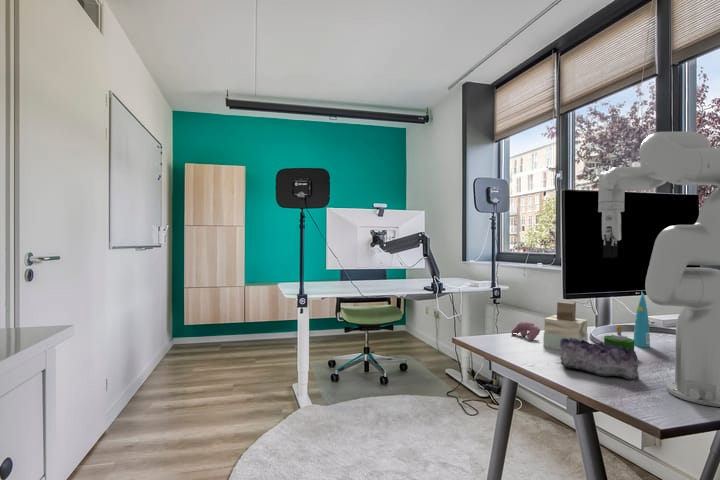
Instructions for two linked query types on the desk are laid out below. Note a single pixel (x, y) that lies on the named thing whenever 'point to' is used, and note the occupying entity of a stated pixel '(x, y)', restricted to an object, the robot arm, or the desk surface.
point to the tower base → (558, 340)
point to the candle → (619, 339)
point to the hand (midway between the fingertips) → (610, 257)
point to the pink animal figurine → (523, 329)
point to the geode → (599, 358)
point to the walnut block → (566, 310)
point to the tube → (642, 325)
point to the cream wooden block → (565, 327)
